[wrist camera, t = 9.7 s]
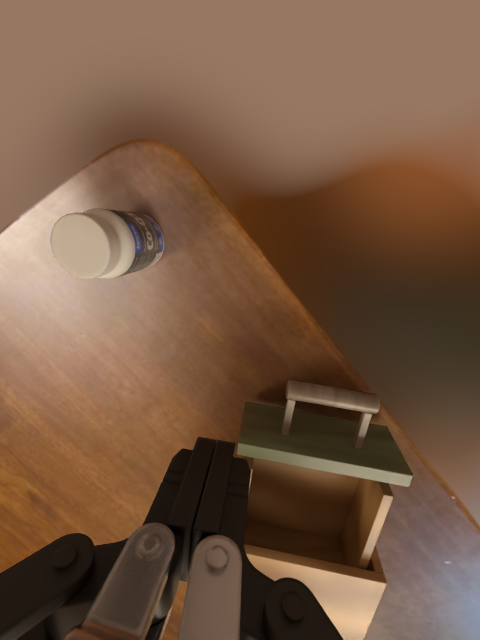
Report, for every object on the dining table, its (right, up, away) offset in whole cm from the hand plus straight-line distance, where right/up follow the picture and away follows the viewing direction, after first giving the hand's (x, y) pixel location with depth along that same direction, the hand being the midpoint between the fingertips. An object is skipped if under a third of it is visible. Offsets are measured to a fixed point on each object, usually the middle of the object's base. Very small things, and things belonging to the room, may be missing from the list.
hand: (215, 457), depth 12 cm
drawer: (+8, -8, +18) cm, 21 cm away
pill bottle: (-8, +12, +15) cm, 21 cm away
